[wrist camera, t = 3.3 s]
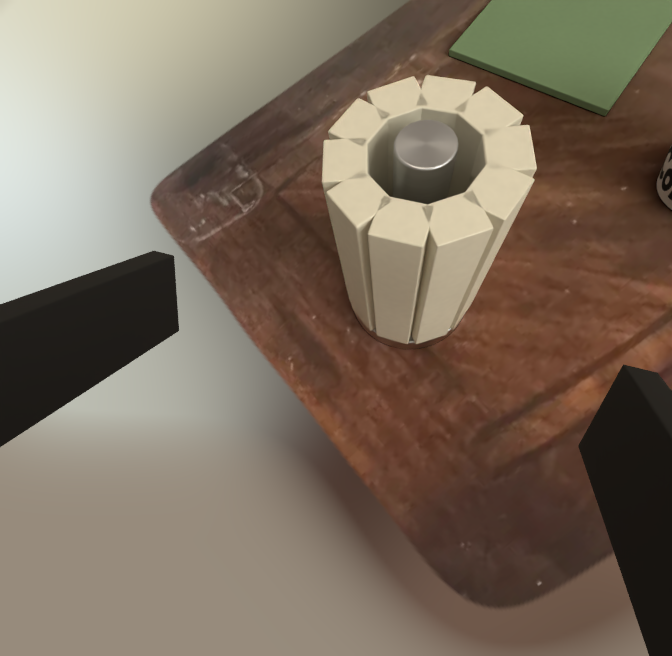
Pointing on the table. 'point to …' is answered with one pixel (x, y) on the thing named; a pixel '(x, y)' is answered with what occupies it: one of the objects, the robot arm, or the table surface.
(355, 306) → the cream slatted holder
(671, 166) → the cup
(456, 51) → the mat
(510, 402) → the table surface
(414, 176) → the stand
